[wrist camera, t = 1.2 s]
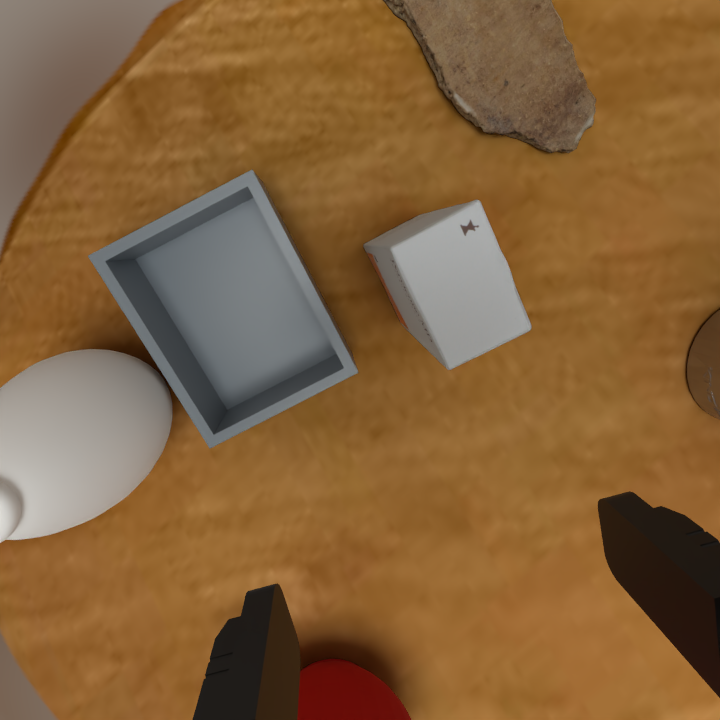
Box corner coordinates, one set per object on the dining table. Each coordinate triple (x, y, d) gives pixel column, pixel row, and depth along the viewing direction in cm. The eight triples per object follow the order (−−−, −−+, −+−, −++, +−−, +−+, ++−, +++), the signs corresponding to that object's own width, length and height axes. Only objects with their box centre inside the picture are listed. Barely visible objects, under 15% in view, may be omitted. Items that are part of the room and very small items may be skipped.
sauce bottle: (56, 430, 32) (-253, 648, 15) (82, 316, 31) (-227, 408, 13) (176, 462, 33) (22, 699, 16) (207, 354, 32) (74, 483, 14)
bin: (262, 182, 30) (252, 169, 25) (352, 353, 33) (358, 372, 28) (124, 254, 30) (87, 255, 25) (225, 418, 33) (209, 448, 28)
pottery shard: (609, 81, 32) (434, -105, 28) (637, 70, 30) (449, -137, 25) (527, 190, 33) (347, 28, 29) (547, 188, 31) (354, 10, 26)
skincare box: (360, 245, 31) (385, 243, 20) (420, 213, 31) (482, 193, 20) (401, 329, 33) (448, 374, 21) (459, 299, 33) (538, 328, 21)
